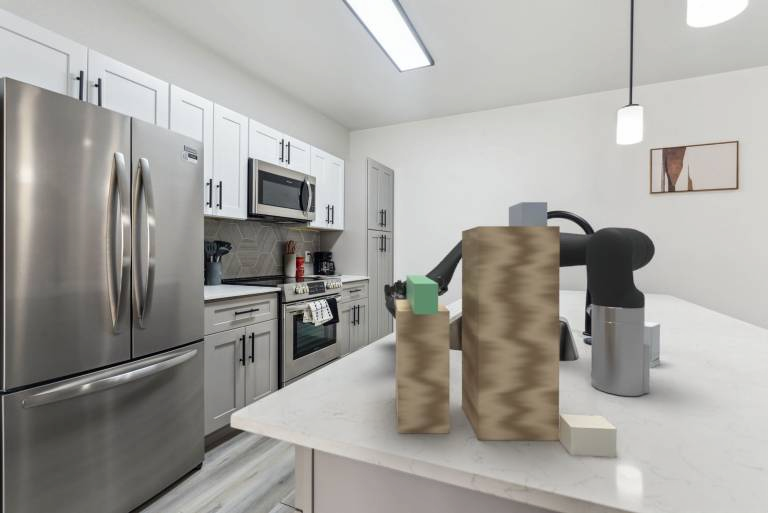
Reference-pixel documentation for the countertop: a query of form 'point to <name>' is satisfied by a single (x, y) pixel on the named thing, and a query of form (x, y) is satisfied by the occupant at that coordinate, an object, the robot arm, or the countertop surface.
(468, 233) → the oak shelf block
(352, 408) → the countertop surface
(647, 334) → the skincare box
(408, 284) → the green bar
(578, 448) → the cream brick
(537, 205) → the slate-blue brick
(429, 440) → the countertop surface
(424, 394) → the oak ledge
